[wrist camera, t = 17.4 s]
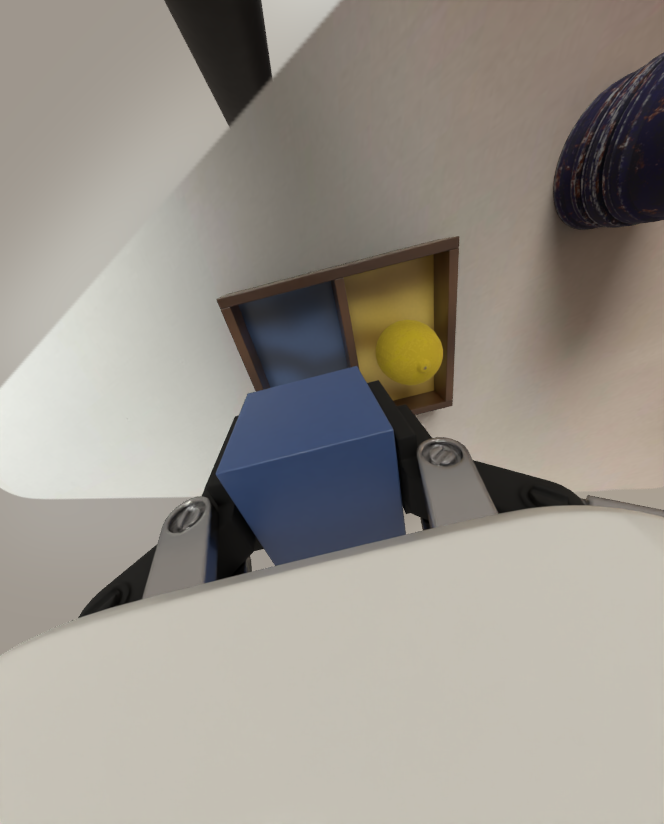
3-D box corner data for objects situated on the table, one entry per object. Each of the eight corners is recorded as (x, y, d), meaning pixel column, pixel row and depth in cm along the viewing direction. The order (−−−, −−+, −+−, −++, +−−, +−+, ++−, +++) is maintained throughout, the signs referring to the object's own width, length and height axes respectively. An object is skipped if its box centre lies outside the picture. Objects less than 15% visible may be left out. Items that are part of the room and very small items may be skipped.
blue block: (247, 393, 10) (214, 474, 6) (357, 365, 10) (393, 429, 6) (283, 473, 12) (276, 568, 8) (372, 450, 12) (406, 536, 8)
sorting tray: (226, 294, 23) (215, 299, 20) (438, 239, 23) (459, 235, 20) (282, 430, 32) (280, 448, 28) (437, 391, 31) (452, 405, 28)
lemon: (390, 301, 24) (426, 316, 18) (429, 332, 26) (474, 357, 20) (356, 349, 26) (376, 379, 20) (395, 374, 28) (425, 410, 22)
